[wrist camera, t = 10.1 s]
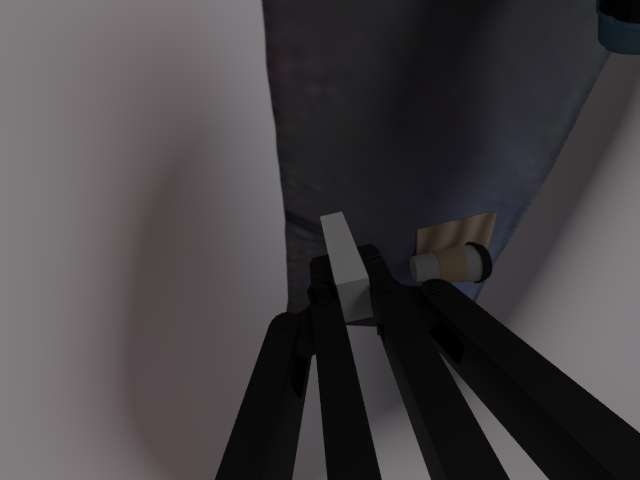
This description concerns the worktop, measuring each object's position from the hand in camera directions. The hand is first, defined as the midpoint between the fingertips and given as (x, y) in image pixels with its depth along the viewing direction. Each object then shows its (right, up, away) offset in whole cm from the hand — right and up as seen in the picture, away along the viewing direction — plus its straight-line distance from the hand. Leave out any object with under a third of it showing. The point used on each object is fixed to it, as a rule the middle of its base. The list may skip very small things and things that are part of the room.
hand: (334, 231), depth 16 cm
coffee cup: (+21, -7, +38) cm, 44 cm away
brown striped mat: (+32, -3, +41) cm, 52 cm away
